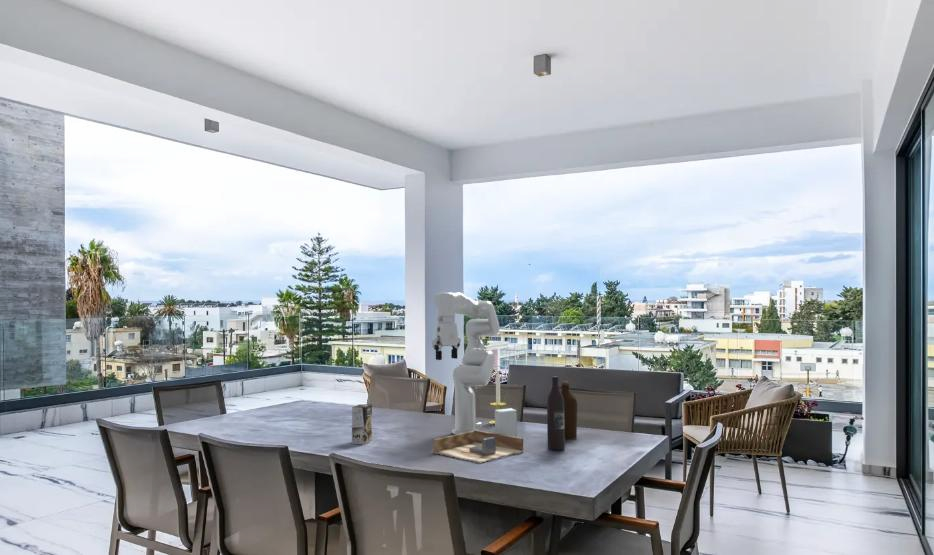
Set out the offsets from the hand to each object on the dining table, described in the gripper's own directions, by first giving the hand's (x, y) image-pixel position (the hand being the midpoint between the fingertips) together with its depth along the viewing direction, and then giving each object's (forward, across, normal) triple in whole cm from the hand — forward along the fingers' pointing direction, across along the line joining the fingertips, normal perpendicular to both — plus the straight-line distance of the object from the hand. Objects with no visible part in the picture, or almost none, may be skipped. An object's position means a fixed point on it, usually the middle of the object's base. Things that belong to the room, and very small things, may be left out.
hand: (446, 359), depth 280 cm
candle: (+36, +50, +13) cm, 63 cm away
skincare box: (+36, +14, -22) cm, 45 cm away
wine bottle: (+36, +20, -44) cm, 61 cm away
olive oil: (+36, +43, -33) cm, 65 cm away
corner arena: (+36, -6, -24) cm, 44 cm away
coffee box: (+36, -25, +28) cm, 52 cm away
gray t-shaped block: (+35, -8, -28) cm, 46 cm away
